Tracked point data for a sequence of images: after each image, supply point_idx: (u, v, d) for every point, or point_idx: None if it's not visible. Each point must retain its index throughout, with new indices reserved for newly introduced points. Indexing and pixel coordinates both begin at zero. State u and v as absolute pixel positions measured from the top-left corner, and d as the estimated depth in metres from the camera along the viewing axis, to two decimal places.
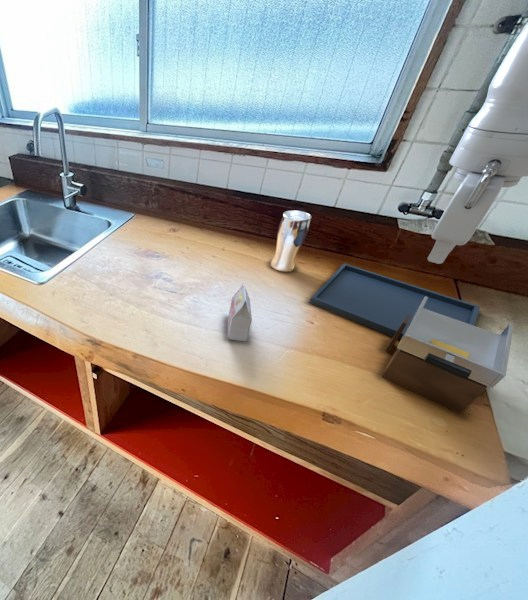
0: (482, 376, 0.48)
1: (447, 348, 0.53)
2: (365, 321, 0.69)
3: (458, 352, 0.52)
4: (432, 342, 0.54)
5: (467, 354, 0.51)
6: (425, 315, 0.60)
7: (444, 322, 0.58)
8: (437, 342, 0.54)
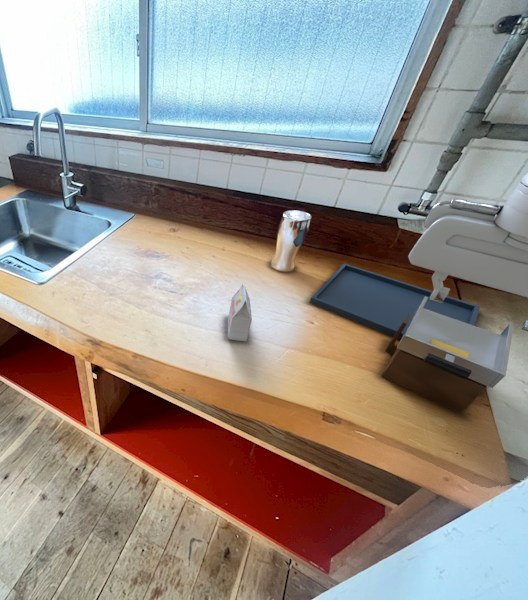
0: (482, 376, 0.48)
1: (447, 348, 0.53)
2: (365, 321, 0.69)
3: (458, 352, 0.52)
4: (432, 342, 0.54)
5: (467, 354, 0.51)
6: (425, 315, 0.60)
7: (444, 322, 0.58)
8: (437, 342, 0.54)
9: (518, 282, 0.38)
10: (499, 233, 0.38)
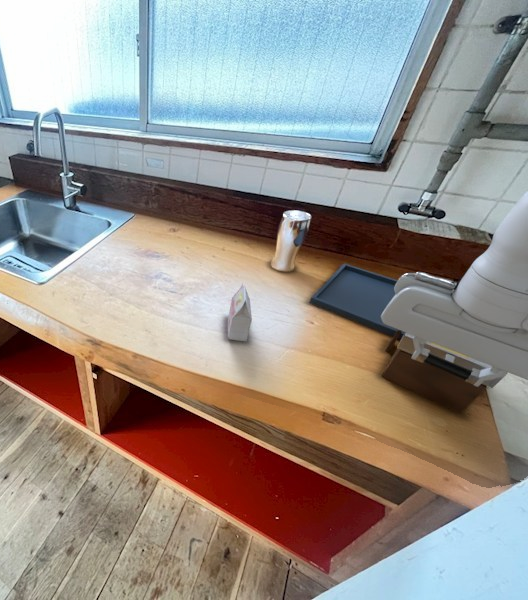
0: None
1: None
2: (365, 321, 0.69)
3: None
4: None
5: None
6: None
7: None
8: None
9: (473, 349, 0.43)
10: (455, 307, 0.43)
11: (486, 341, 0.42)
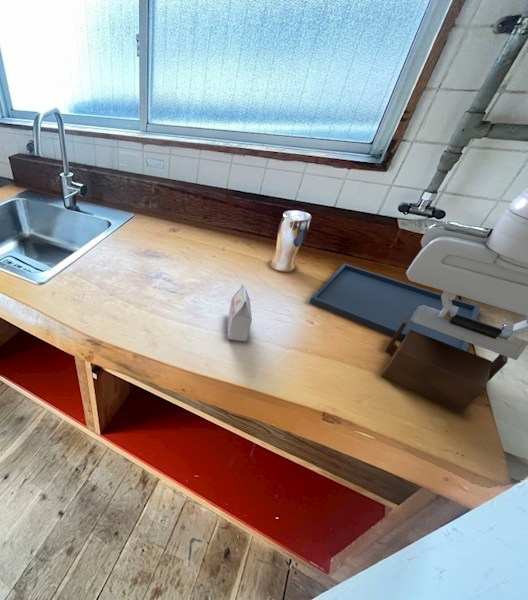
0: (505, 346, 0.46)
1: None
2: (365, 321, 0.69)
3: None
4: None
5: None
6: None
7: None
8: None
9: (508, 299, 0.41)
10: (489, 254, 0.41)
11: (522, 289, 0.40)
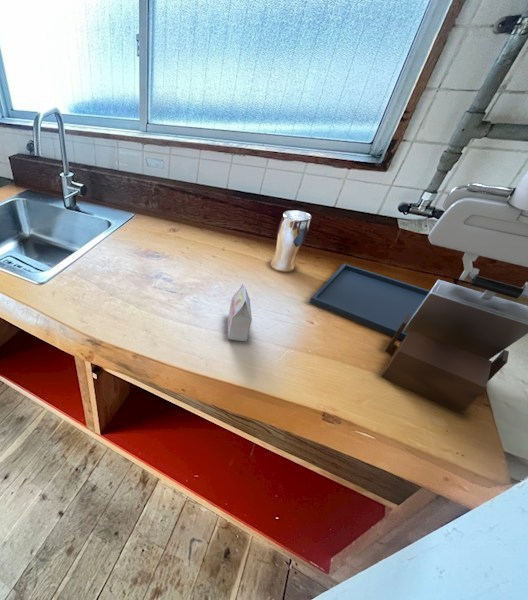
0: (523, 314, 0.46)
1: None
2: (365, 321, 0.69)
3: None
4: None
5: None
6: None
7: None
8: None
9: None
10: (512, 212, 0.42)
11: None
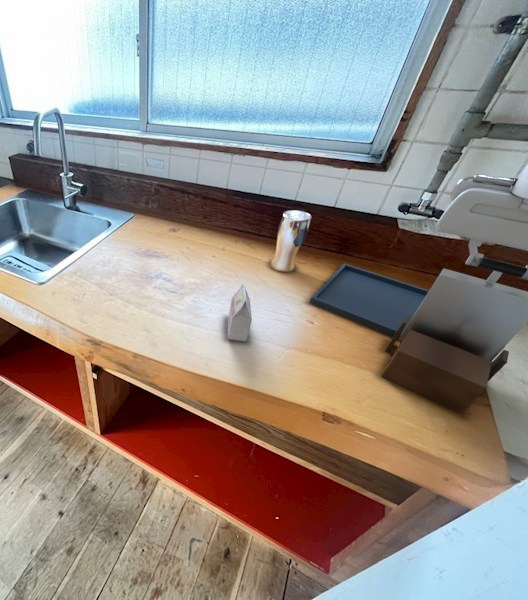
0: (527, 295, 0.49)
1: None
2: (365, 321, 0.69)
3: None
4: None
5: None
6: None
7: None
8: None
9: None
10: (514, 200, 0.46)
11: None
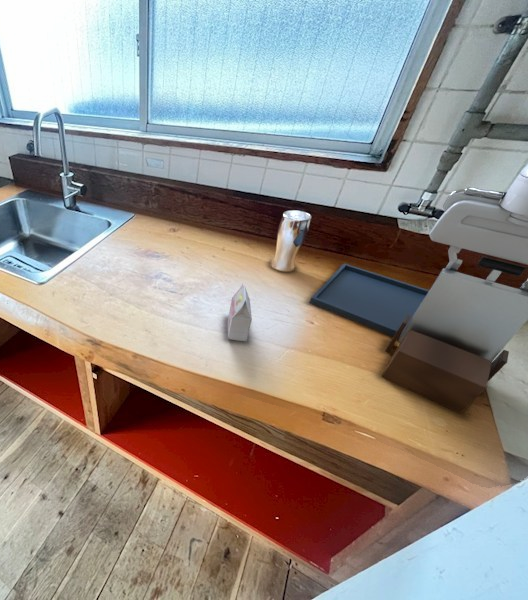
0: (526, 294, 0.50)
1: None
2: (365, 321, 0.69)
3: None
4: None
5: None
6: None
7: None
8: None
9: (517, 252, 0.49)
10: (503, 213, 0.48)
11: None
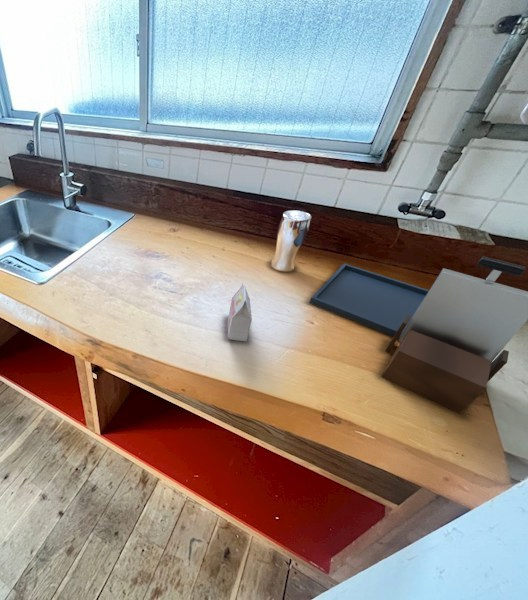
0: (526, 294, 0.50)
1: None
2: (365, 321, 0.69)
3: None
4: None
5: None
6: None
7: None
8: None
9: None
10: None
11: None
